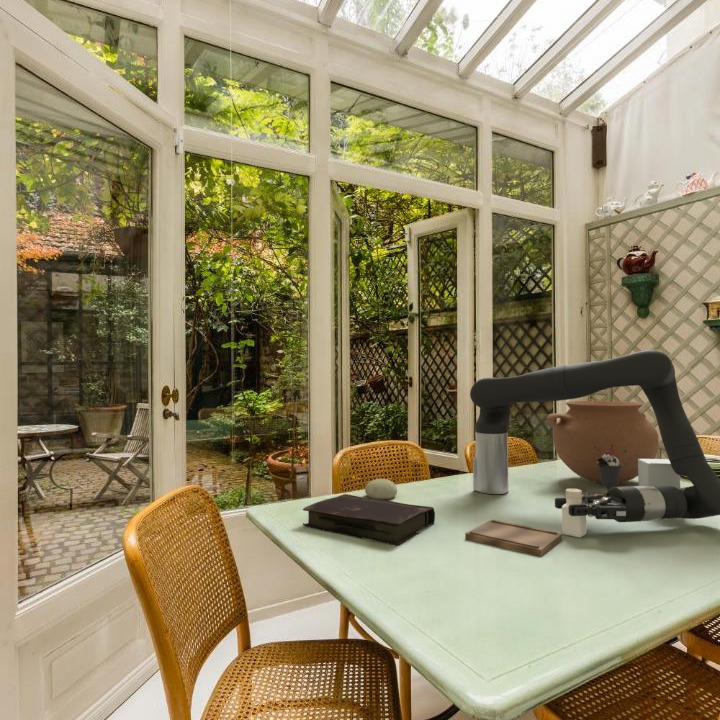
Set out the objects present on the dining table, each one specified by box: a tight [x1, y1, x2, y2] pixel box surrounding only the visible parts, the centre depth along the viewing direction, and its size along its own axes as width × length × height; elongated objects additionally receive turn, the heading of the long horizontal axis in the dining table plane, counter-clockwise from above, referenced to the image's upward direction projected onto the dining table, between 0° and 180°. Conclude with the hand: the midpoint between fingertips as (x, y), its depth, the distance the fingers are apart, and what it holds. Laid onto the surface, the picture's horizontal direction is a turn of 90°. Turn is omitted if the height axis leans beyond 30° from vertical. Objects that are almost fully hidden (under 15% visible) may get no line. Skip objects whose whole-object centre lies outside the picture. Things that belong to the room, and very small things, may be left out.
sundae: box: [596, 445, 623, 492], centre depth 136 cm, size 7×7×15 cm
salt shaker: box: [561, 488, 587, 538], centre depth 109 cm, size 4×4×10 cm
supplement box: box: [637, 458, 681, 488], centre depth 126 cm, size 7×7×13 cm
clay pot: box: [546, 400, 660, 485], centre depth 158 cm, size 34×30×25 cm
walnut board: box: [464, 519, 563, 557], centre depth 106 cm, size 16×12×2 cm
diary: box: [302, 493, 436, 547], centre depth 117 cm, size 19×25×5 cm
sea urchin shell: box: [364, 478, 398, 500], centre depth 143 cm, size 9×8×8 cm
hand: (562, 506), depth 109 cm, fingers closed on salt shaker, 5 cm apart
